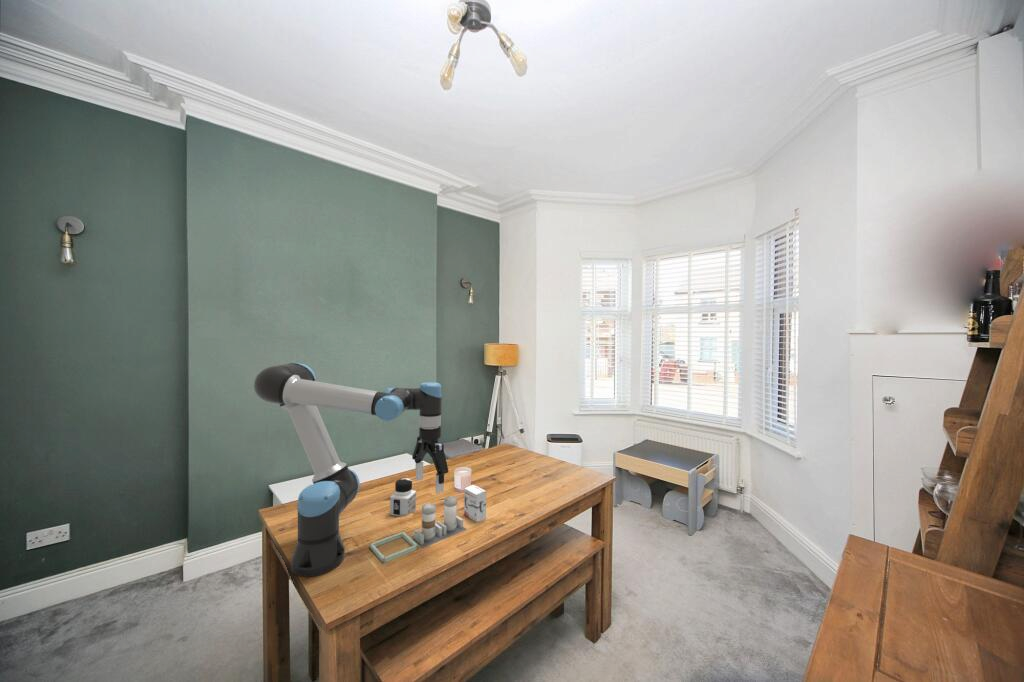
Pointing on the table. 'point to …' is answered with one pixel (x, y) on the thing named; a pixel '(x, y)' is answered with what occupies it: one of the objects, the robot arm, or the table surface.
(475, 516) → the ink box
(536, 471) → the table surface
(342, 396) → the robot arm
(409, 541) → the parts tray
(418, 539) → the fuse block
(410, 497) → the container
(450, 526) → the cylinder
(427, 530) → the cylinder
